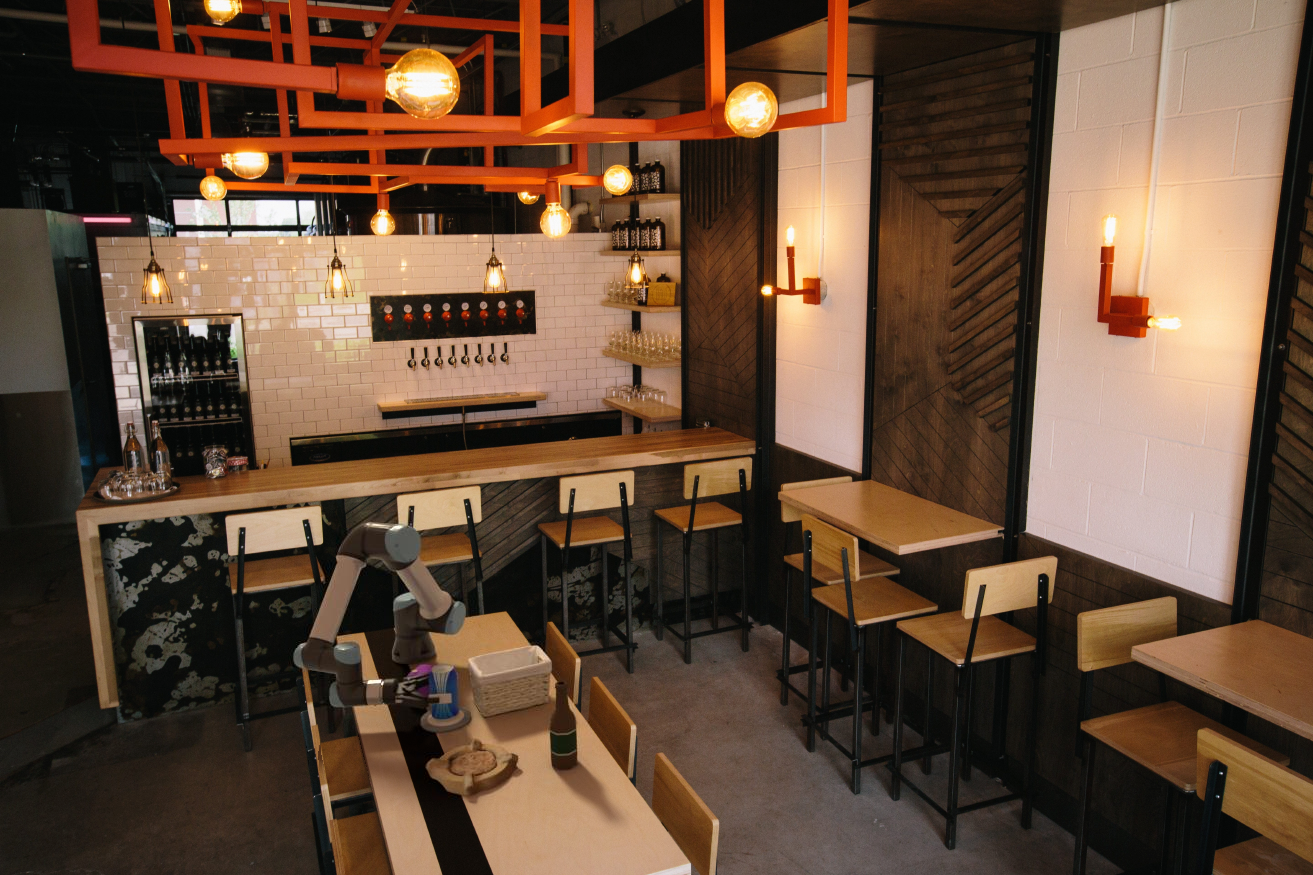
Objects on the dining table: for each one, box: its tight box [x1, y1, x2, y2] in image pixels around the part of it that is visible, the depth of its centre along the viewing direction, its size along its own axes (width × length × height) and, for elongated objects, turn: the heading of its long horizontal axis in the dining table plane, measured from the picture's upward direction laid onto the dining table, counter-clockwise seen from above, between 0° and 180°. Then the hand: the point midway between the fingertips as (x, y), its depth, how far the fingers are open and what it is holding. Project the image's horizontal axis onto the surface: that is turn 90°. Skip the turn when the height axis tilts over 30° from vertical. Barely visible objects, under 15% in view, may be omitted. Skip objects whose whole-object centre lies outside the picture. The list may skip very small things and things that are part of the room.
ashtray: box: [425, 737, 519, 796], centre depth 239 cm, size 24×24×5 cm
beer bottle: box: [549, 680, 578, 771], centre depth 241 cm, size 8×8×24 cm
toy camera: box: [406, 664, 437, 698], centre depth 285 cm, size 11×14×10 cm
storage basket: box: [467, 645, 553, 718], centre depth 278 cm, size 24×16×15 cm
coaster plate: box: [420, 705, 472, 734], centre depth 268 cm, size 15×15×1 cm
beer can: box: [429, 663, 460, 722], centre depth 267 cm, size 8×8×16 cm
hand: (454, 687), depth 267 cm, fingers open, 13 cm apart
